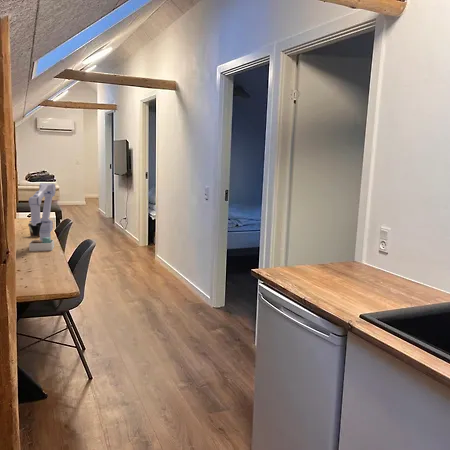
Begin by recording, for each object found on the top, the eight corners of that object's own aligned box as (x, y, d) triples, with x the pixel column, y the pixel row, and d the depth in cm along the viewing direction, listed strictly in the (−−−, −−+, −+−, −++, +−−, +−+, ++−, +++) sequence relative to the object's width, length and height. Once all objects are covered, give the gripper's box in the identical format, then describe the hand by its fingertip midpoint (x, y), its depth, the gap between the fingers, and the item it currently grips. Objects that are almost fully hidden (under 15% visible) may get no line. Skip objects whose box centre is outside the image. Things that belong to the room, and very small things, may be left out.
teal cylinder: (51, 247, 305) (50, 237, 303) (50, 248, 300) (50, 238, 299) (43, 247, 303) (42, 237, 302) (42, 249, 298) (42, 238, 297)
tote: (32, 247, 305) (32, 240, 304) (54, 246, 308) (54, 239, 307) (29, 251, 294) (29, 243, 293) (52, 250, 297) (51, 243, 296)
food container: (47, 235, 349) (47, 222, 347) (43, 236, 343) (43, 224, 341) (32, 234, 350) (32, 222, 348) (28, 236, 344) (28, 223, 342)
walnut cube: (41, 247, 303) (41, 240, 302) (40, 249, 298) (40, 241, 297) (33, 247, 302) (33, 240, 301) (32, 249, 297) (32, 241, 296)
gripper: (31, 213, 302) (32, 232, 305) (27, 216, 288) (28, 236, 291) (42, 213, 304) (43, 232, 306) (38, 216, 290) (39, 236, 292)
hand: (36, 234), depth 299 cm, fingers open, 7 cm apart
